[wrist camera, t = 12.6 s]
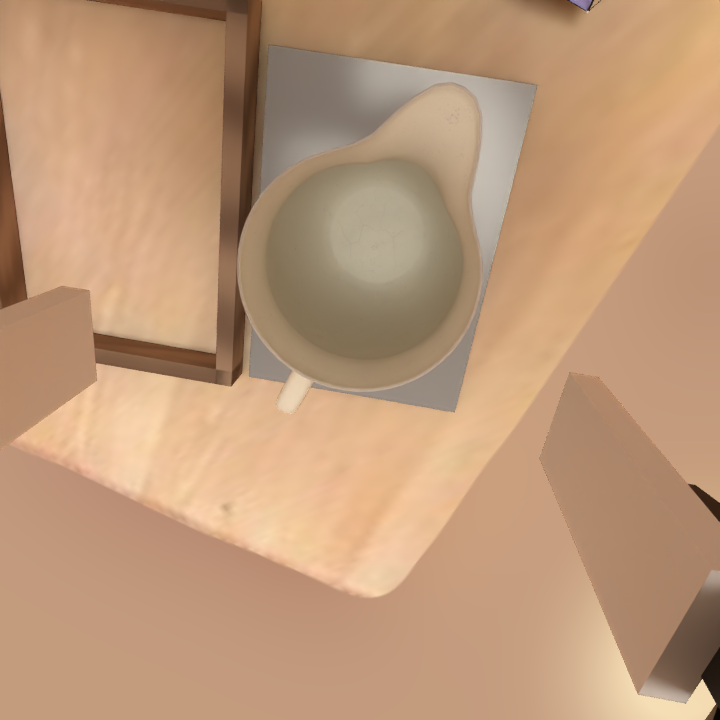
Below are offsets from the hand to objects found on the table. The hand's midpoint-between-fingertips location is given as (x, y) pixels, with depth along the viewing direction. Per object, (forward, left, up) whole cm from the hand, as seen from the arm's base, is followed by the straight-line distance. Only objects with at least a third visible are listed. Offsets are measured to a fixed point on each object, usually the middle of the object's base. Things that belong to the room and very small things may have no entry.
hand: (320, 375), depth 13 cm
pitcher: (0, 0, -21) cm, 21 cm away
